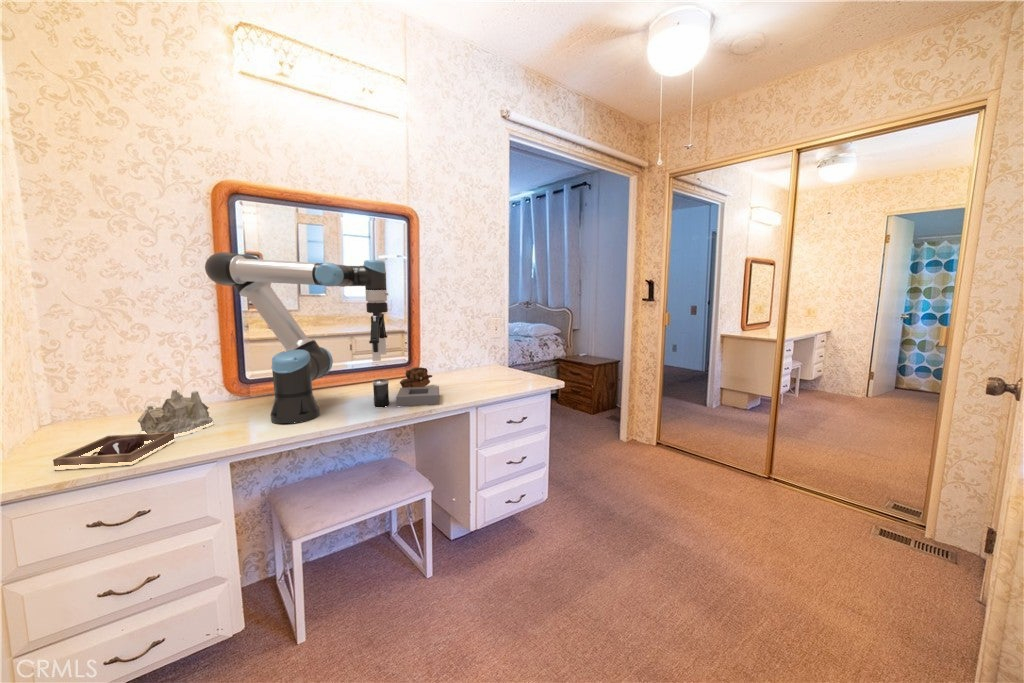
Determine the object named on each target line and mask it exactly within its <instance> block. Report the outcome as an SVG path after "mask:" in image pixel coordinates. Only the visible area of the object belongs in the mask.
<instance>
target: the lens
mask: <svg viewBox="0 0 1024 683" xmlns="http://www.w3.org/2000/svg"><path fill="white" fill-rule="evenodd" d="M372 388H373V389H372V390H373V405H374V406H375V407H374V408H376V407H383V408H386V407H385V406H387V407H389V406H390V395H389V394H390V393H389V379H386V378H378V379H374V380H372ZM388 405H389V406H388Z"/></svg>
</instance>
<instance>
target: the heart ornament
mask: <svg viewBox="0 0 1024 683" xmlns="http://www.w3.org/2000/svg"><path fill="white" fill-rule="evenodd" d="M143 445H144V440H143V439H142V438H140V437H132V438H123V439H117V440H113V441H110V442H108V443H106V444H104V445H103V447H102V448H101V449H100V451H99V452H98V453H96V455H112V454H128V453H131V452H133V451H135V450H137V449H138V448H140V447H142V446H143ZM144 446H145V445H144Z"/></svg>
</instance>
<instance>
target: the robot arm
mask: <svg viewBox="0 0 1024 683" xmlns="http://www.w3.org/2000/svg"><path fill="white" fill-rule="evenodd" d="M385 263H386V262H385V261H383V260H380V259H377V260H376V259H366V260H364V261H363V265H345V264H338V263H337V264H336V263H334V262H333V263H332V262H325V263H324V262H323V263H322V262H320V263H319V262H310V261H308V262H306V261H292V260H291V261H290V260H274V259H273V260H272V259H261V258H259V257H257V256H254V255H251V254H245V253H244V254H243V253H233V252H227V251H222V252H221V251H220V252H216V253H214V254H212V255H211V256H209V257H208V258H207V259H206V261H205V264H204V269H205V270H204V271H205V273H206V275H207V276H208V278H209V280H211V281H212V282H214V283H216V284H217V285H221V286H226V287H227V286H228V287H234V289H235V290H236V291H237V292H238V294H239V295H240V296H242V297H244V298H247V299H248V300H249V301H250V302H251V304H252V305H253V307H254V309H256V311H257V312H258V313H259V315H260V316H261V318H262V319H263V320H264V323H266V324H267V326H268V327H269V328H270V330H271V331H272V332H273V334H274V335H275V337H276V338H277V339H278V341H279V342H280V343H281V345H282V346H283V347H284V349H285V350H286V351H285V350H284V351H281V352H279V353H276V354H274V355H273V357H272V359H271V371H272V380H273V390H274V401H273V405H272V408H271V412H270V422H271V421H272V422H271V423H273V422H275V423H274V424H276V423H293V424H295V423H294V422H299V423H302V422H301V421H304V422H307V421H306V420H308V421H310V419H311V420H313V419H315V417H316V418H317V417H319V415H320V407H319V405H318V402H317V400H316V399H315V396H314V394H313V381H315V380H318V379H321V378H323V377H324V376H326V375H327V374H328V373H329V372H330V371H331V369H332V367H333V363H334V360H333V356H332V354H331V352H330V351H329V350H328V349H326V348H324V347H321V346H320V345H319V344H318V343H317V342H316V340H315V339H311V338H308V336H307V335H306V333H305V332H304V331H303V329H302V327H301V326H300V325H299V323H298V322H297V321H296V320H295V318H294V316H292V314H291V313H290V311H289V310H288V309H287V308H286V307H287V306H285V305H284V303H283V302H282V300H281V299H280V297H279V296H278V295H277V293H276V292H275V291H274V289H273V288H272V286H271V285H272V283H273V284H289V285H291V284H292V285H306V286H307V285H309V286H324V287H340V288H341V287H343V288H345V287H365V301H366V313H369V314H372V315H370V340H369V341H368V344H371V351H372V352H371V354H372V361H373V362H378V361H380V362H381V361H382V360H381V359H382V358H381V355H382V356H383V355H387V344H386V343H387V342H386V341H387V339H388V334H387V331H386V325H385V324H386V323H385V314H384V313H388V310H389V309H388V303H387V300H388V296H389V293H388V292H387V270H386V264H385ZM312 418H313V419H312Z"/></svg>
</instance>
